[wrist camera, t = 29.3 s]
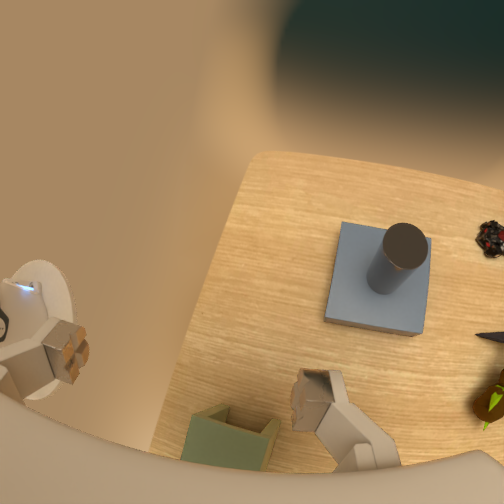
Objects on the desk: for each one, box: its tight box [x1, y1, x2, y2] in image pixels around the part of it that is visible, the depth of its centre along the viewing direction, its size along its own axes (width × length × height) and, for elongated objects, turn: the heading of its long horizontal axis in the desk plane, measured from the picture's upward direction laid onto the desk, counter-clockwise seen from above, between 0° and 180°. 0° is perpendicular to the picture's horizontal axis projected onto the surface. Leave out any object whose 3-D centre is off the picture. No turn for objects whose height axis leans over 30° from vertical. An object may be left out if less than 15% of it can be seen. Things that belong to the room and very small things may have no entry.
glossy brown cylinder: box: [366, 223, 428, 295], centre depth 29 cm, size 4×4×10 cm
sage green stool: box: [180, 404, 281, 472], centre depth 29 cm, size 8×9×10 cm
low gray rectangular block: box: [324, 222, 431, 337], centre depth 35 cm, size 12×12×4 cm
